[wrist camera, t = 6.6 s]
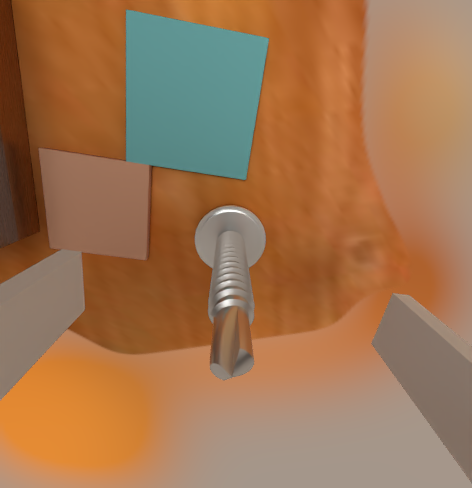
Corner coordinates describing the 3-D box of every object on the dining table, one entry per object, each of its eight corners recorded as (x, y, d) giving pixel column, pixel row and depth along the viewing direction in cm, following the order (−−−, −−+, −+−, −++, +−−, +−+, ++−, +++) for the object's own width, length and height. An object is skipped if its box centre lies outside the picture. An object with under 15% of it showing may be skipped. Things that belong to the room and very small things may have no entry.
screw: (272, 212, 19) (248, 268, 20) (209, 190, 18) (190, 249, 19) (352, 333, 6) (276, 449, 8) (168, 277, 6) (125, 415, 7)
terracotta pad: (55, 245, 19) (49, 248, 19) (44, 147, 17) (38, 147, 16) (148, 257, 20) (146, 260, 19) (151, 164, 17) (149, 165, 17)
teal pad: (129, 160, 17) (125, 161, 17) (130, 14, 14) (126, 9, 14) (245, 179, 18) (245, 179, 17) (267, 42, 15) (269, 38, 14)
